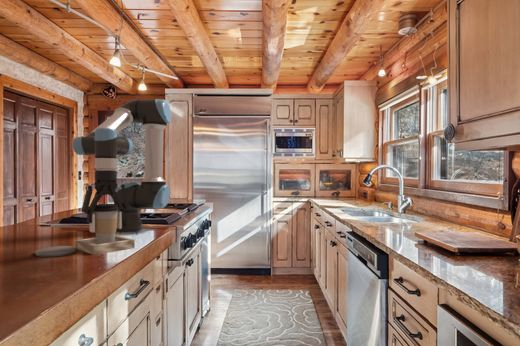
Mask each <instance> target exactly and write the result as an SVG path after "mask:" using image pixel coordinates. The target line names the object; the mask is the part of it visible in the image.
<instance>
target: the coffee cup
mask: <svg viewBox="0 0 520 346" xmlns="http://www.w3.org/2000/svg"><path fill="white" fill-rule="evenodd" d="M118 210H119V207H118V205H117V204H114V203H98V204H97V206H96V207H95V209H94V211H93V213H92V214H95V232H94V233H95V238H96V241H97V245H98V244H105V243H111V242H115V235H116V232H117V231H116V228H117V218H118V217H117V214H118Z"/></svg>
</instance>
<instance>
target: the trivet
mask: <svg viewBox="0 0 520 346" xmlns="http://www.w3.org/2000/svg"><path fill="white" fill-rule="evenodd" d="M76 250H77V249H76V246H71V245H55V246H47V247H44V248H43V247H42V248H38V249H36V250H35V256H37V257H38V258H39V257H40V258H53V257H54V258H55V257H61V256H68V255H71V254H73V253H74V254H75V253H76Z"/></svg>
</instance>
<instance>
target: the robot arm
mask: <svg viewBox="0 0 520 346" xmlns="http://www.w3.org/2000/svg"><path fill="white" fill-rule="evenodd" d="M171 121H172V111H171V107H170V105H169V103H168V101H167V100H166V99H163V98H162V99H161V98H154V99H153V98H151V99H149V98H148V99H133V100H130V101H127V102H125V103H124V104H122V105H120V106H118V107H117V108H116V109H115V110H114V111H113V114H112V115H111V116H109V117H108V118H107V119H106V120H104V121H103V122H101V124H99V125H98V126H97V127H95V128H94V129H93V130H92V131H90V132H89V133H88V134H87V135H86V136H85V135H84V136H83V135H81V136H76V137H74V139H73V141H72V149H73V152H74V153H75V154H76V155H79V156H80V155H81V156H94V169H95V171H94V184H91V185H90V184H87V185H85V194H84V199H83V202H82V206H81V213H84V214H86V222H87V224H89V233H95V214H93V211H94V209H95V207H96V206H97V205H98V204H99V202H100V200H101V198H102V197H103V196H107V195H109V196H110V197H111V199H112V201H113V204H117V205H118V207H119V210H118V214H117V217H118V218H117V228H116V232H133V231H134V232H135V231H140V230H143V222H142V218H141V216H140V209H150V210H151V209H153V210H156V209H164V208H165V207H166V206H167V205H168V203H169V202H170V201H169V200H170V195H171V189H170V186H169V185H168V184H167V181H166V180H165V179H164V174H163V173H164V137H165V136H164V135H165V134H164V131H165V129H166V128H167V127H168V124H170V123H171ZM132 124H133V125H134V124H142V127H143V128H144V130H145V136H144V138H145V142H144V143H145V145H144V146H145V147H144V151H145V153H144V178H143V179H142V180H141V182H138V181H132V182H125V183H124V182H123V183H117V182H118V181H117V179H118V171H117V170H116V169H118V164H117V163H118V160H117V158H118V157H117V156H119V157H120V156H123V157H125V156H129V155H130V154H131V153H132V152H133V151H134V150H133V149H134V142H133V141H132V140H131V139H130V138H129V137H126V136H119V135H118V134H119V133H120V132H121V131H122V130H123V129H124V128H126V127H129V126H131V125H132ZM140 183H141V184H140ZM94 189H95V190H96V191H95V193H94V196H93V191H94ZM92 196H93V198H92ZM91 199H92V200H91Z"/></svg>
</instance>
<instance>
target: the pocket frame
mask: <svg viewBox="0 0 520 346" xmlns="http://www.w3.org/2000/svg"><path fill="white" fill-rule="evenodd" d="M135 241H136V240H135V239H133V238H128V237H125V236H120V235H118V234H117V235H116V234H115V242H111V243H105V244H98V245H97V241H96V237H92V238H84V239H76V240H75V248H76V250H79V251H81V252H85V253H87V254H91V255H94V256H95V255H102V254H107V253H113V252H119V251H123V250H131V249H135V245H136V244H135Z"/></svg>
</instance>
